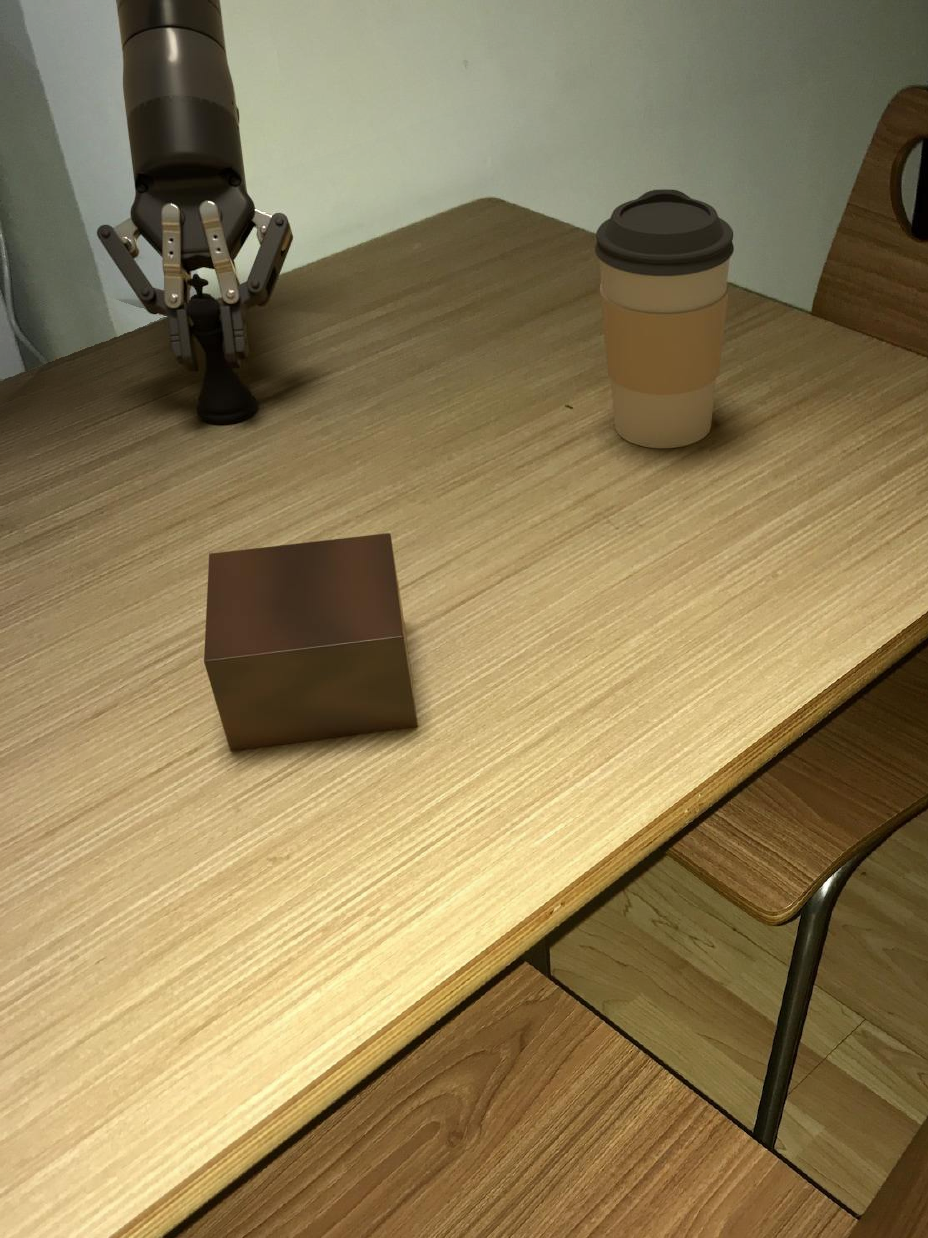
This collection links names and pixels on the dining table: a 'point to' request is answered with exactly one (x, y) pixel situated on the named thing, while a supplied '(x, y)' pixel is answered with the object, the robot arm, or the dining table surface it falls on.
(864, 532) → the dining table surface
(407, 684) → the brown metal block
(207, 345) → the chess piece
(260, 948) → the dining table surface
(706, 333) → the coffee cup
